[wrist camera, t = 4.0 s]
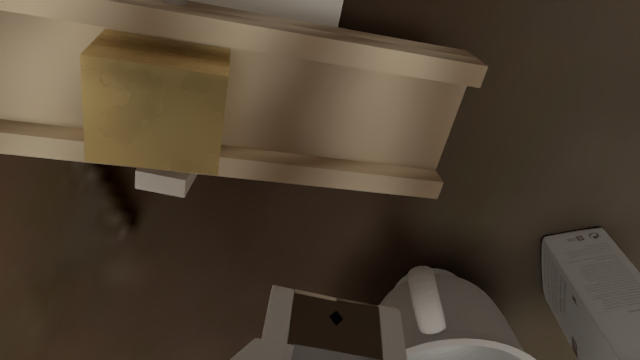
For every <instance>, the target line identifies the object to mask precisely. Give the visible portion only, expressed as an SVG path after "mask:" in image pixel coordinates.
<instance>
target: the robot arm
mask: <svg viewBox="0 0 640 360" xmlns="http://www.w3.org/2000/svg"><path fill="white" fill-rule="evenodd" d="M230 360H407V354H406V347H405V340H404V334H403V327H402V320H401V313H400V311H399V309H398V308H392V307H386V306H381V305H377V306H376V305H373V304H368V303H362V302H357V301H351V300H346V299H340V298H334V297H330V296H325V295H320V294H316V293H311V292H306V291H302V290H297V289H290V288H285V287H281V286H276V285H273V286H272V289H271V293H270V298H269V302H268V307H267V312H266V317H265V321H264V326H263V331H262V336H261V339H258V338H255V339H253V340H252V341H251V342H250V343H249V344H248V345H246V346H245V347H244V348H243V349H242V350H241V351H239V352H238V353H237V354H236V355H235V356H234V357H232V358H231V359H230Z"/></svg>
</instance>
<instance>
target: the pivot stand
mask: <svg viewBox="0 0 640 360" xmlns="http://www.w3.org/2000/svg"><path fill="white" fill-rule="evenodd" d="M189 1H193V2H199V3H204V4H210V5H215V6H221V7H227V8H232V9H238V10H243V11H249V12H254V13H260V14H266V15H271V16H277V17H282V18H288V19H293V20H299V21H305V22H311V23H316V24H322V25H327V26H333V27H338V24H339V19H340V15H341V10H342V6H343V1H344V0H189ZM196 176H197V174H192V173H183V172H173V171H163V170H154V169H144V168H137V169H136V170H135V188H136V189H141V190H146V191H151V192H156V193H161V194H167V195H172V196H177V197H182V198H185V196H186V194H187V192H188V191H189V189H190V187H191V185H192V183H193V182H194V180H195V178H196Z"/></svg>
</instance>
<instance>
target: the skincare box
mask: <svg viewBox="0 0 640 360" xmlns="http://www.w3.org/2000/svg"><path fill="white" fill-rule="evenodd" d="M541 265H542V283H543V292H544V297H545V299H546V301H547V303H548V305H549V307H550V309H551V310H552V312H553V314H554V316H555V318H556V320H557V321H558V323H559V325H560V327H561V329H562V330H563V332H564V334H565V336H566V338H567V339H568V341H569V343H570V345H571V347H572V348H573V350H574V352H575V354H576V356H577V358H578V359H579V360H640V272H639V271H638V270H637V269H636V267H635V266H634V265H633V264H632V263H631V261H630V260H629V259H628V258H627V257H626V255H625V254H624V253H623V252H622V251H621V249H620V248H619V247H618V246H617V245H616V243H615V242H614V241H613V240H612V239H611V237H610V236H609V235H608V234H607V233H606V231H605V230H604V229H603V228H594V229H586V230H579V231H573V232H567V233H561V234H555V235H551V236H546V237H544V238H543V241H542V254H541Z"/></svg>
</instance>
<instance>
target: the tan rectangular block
mask: <svg viewBox="0 0 640 360" xmlns="http://www.w3.org/2000/svg"><path fill="white" fill-rule="evenodd" d="M230 54H231V49H228V48H222V47H216V46H210V45H204V44H197V43H191V42H185V41H179V40H173V39H166V38H160V37H154V36H148V35H142V34H135V33H129V32H123V31H117V30H111V29H104V30H103V31H102V32H101V33H100V34H99V35H98V36H97V37H96V38H95V39H94V40H93V41H92V43H91V44H90V45H89V46H88V47H87V48H86V49H85V50H84V51H83V52H82V53H81V54H80V67H81V90H82V112H83V135H84V157H85V162H93V163H102V164H112V165H122V166H131V167H141V168H150V169H160V170H170V171H179V172H189V173H198V174H208V175H217V176H218V167H219V158H220V150H221V141H222V132H223V123H224V114H225V105H226V96H227V88H228V79H229V67H230Z"/></svg>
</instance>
